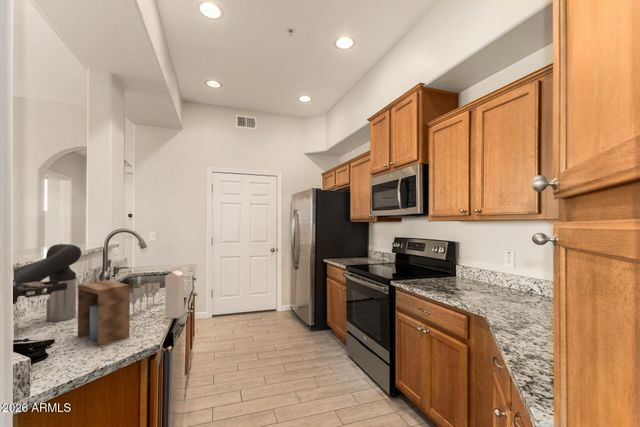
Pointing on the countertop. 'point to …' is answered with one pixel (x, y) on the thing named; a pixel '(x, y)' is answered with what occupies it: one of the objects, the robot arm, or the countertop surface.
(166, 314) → the milk
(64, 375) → the countertop surface
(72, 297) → the robot arm
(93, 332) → the grey-blue cylinder
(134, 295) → the goblet set
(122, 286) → the open wooden box
